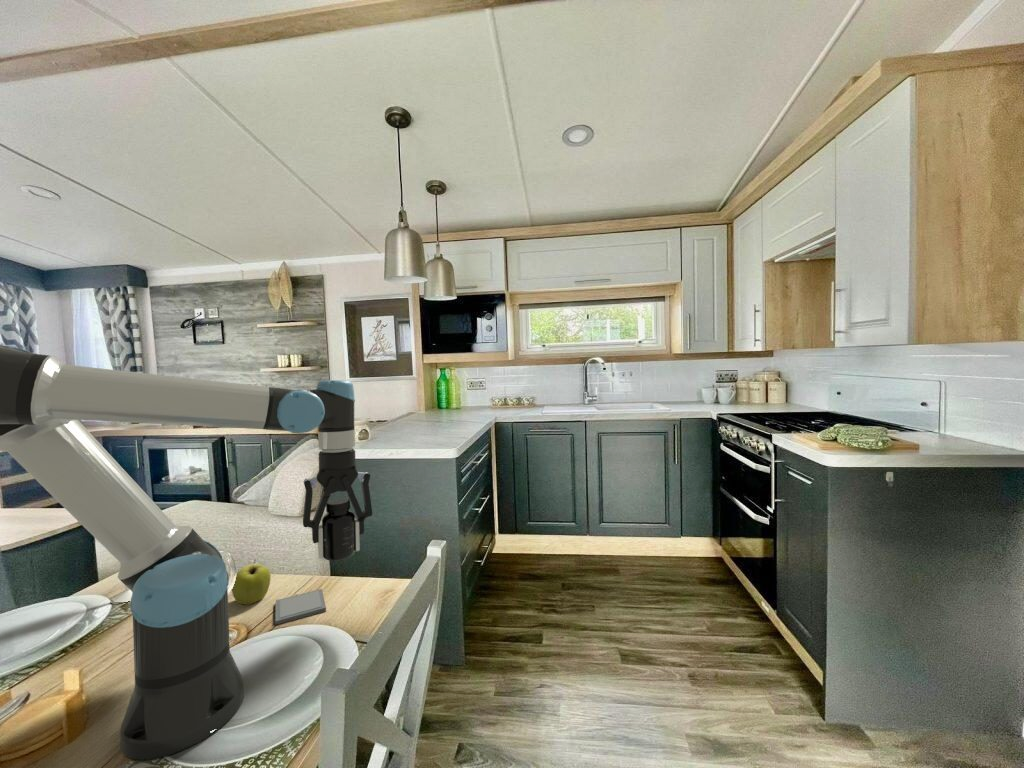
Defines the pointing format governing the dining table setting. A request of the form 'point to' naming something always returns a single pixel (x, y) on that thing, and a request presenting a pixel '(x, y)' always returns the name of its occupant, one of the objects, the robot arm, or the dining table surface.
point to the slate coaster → (299, 606)
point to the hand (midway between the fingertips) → (339, 552)
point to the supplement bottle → (338, 530)
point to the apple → (251, 583)
